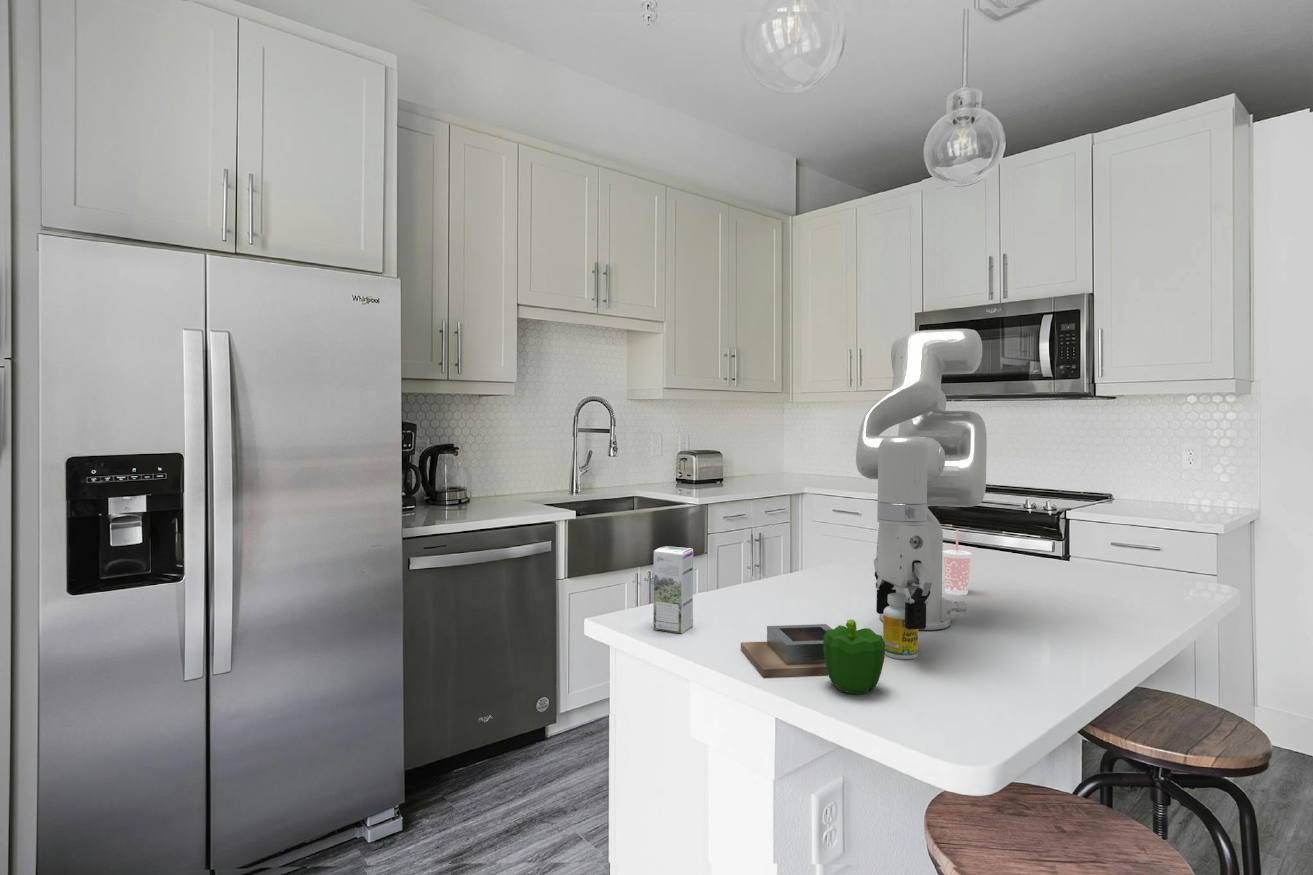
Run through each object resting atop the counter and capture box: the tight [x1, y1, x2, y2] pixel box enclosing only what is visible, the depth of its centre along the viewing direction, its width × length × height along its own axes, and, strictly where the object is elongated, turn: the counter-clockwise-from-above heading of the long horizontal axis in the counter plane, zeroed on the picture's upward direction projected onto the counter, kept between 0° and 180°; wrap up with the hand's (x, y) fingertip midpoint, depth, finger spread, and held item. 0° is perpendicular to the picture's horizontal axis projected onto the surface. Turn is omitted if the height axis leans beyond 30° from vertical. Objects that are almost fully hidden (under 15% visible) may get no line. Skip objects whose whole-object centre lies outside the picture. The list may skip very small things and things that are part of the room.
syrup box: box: [652, 545, 694, 634], centre depth 129 cm, size 6×6×14 cm
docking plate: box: [740, 640, 828, 679], centre depth 112 cm, size 18×13×1 cm
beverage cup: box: [943, 529, 973, 596], centre depth 158 cm, size 6×6×14 cm
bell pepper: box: [823, 619, 886, 695], centre depth 100 cm, size 8×8×10 cm
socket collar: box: [766, 623, 833, 665], centre depth 112 cm, size 10×10×3 cm
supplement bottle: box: [882, 593, 919, 660], centre depth 115 cm, size 5×5×10 cm
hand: (900, 620), depth 114 cm, fingers open, 9 cm apart
